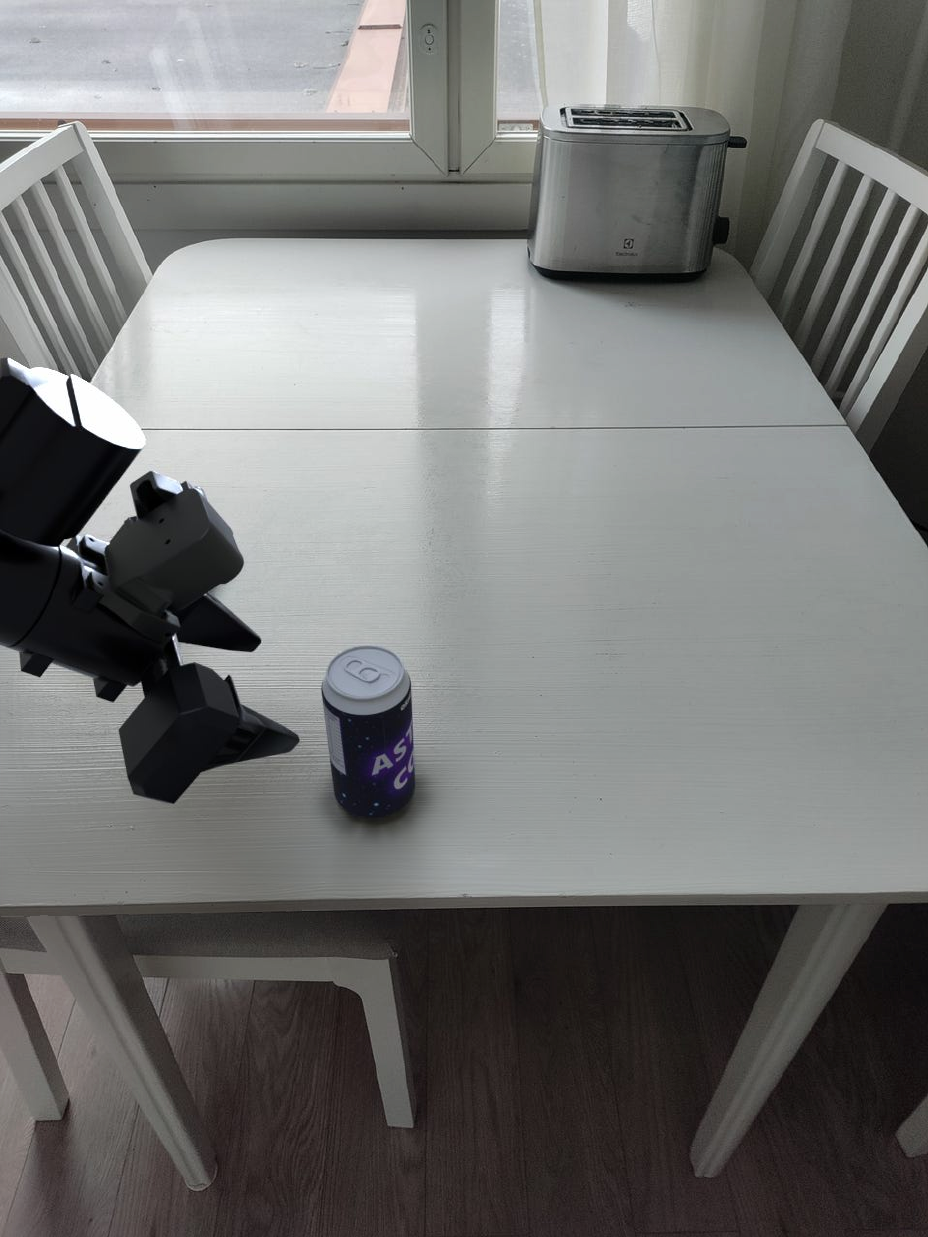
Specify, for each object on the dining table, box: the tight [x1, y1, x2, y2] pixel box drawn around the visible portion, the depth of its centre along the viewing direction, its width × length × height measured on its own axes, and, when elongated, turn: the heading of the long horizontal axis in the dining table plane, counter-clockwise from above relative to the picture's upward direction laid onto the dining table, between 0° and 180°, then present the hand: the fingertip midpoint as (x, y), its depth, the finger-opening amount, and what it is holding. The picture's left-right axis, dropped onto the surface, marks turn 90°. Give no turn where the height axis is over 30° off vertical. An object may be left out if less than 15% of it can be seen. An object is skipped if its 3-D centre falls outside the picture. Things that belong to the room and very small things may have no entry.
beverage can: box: [320, 644, 416, 820], centre depth 64 cm, size 6×6×12 cm
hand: (275, 692), depth 58 cm, fingers open, 9 cm apart
